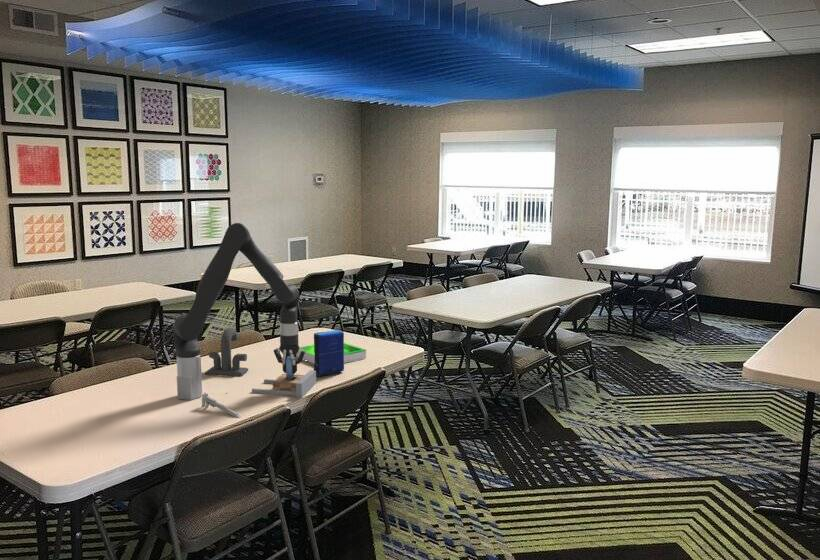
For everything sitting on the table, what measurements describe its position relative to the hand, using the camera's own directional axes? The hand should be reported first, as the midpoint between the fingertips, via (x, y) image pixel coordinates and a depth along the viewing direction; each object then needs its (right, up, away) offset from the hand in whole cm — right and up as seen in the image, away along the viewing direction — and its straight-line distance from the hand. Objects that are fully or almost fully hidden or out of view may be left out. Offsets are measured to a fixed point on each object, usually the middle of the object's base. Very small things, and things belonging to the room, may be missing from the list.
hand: (290, 372), depth 270 cm
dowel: (0, -2, 0) cm, 3 cm away
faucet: (-33, -3, +27) cm, 42 cm away
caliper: (-21, -12, -25) cm, 35 cm away
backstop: (-3, -7, +1) cm, 8 cm away
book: (+13, -4, +23) cm, 27 cm away
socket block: (0, -7, +1) cm, 7 cm away
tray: (+11, 0, +49) cm, 51 cm away
